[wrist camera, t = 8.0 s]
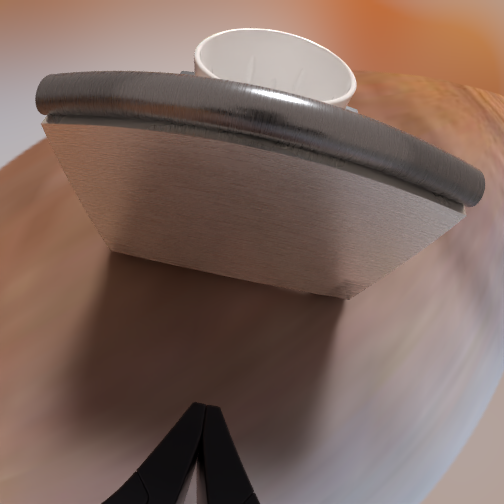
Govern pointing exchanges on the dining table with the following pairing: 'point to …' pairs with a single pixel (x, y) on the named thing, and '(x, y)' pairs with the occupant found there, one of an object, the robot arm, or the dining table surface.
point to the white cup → (276, 64)
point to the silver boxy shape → (250, 178)
